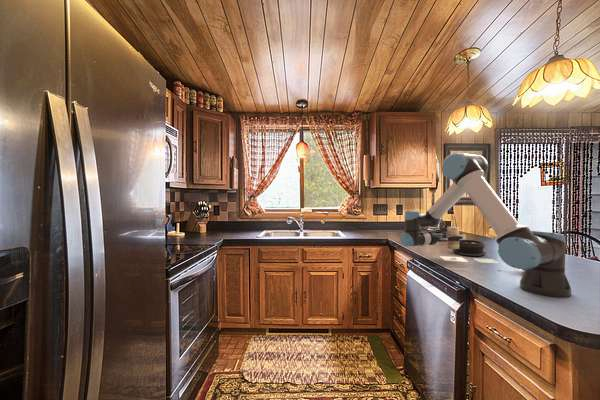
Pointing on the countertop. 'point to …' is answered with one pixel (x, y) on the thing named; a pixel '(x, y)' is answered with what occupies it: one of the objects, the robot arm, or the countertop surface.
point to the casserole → (470, 248)
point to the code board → (453, 259)
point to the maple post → (453, 232)
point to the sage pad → (486, 260)
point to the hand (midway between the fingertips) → (460, 236)
